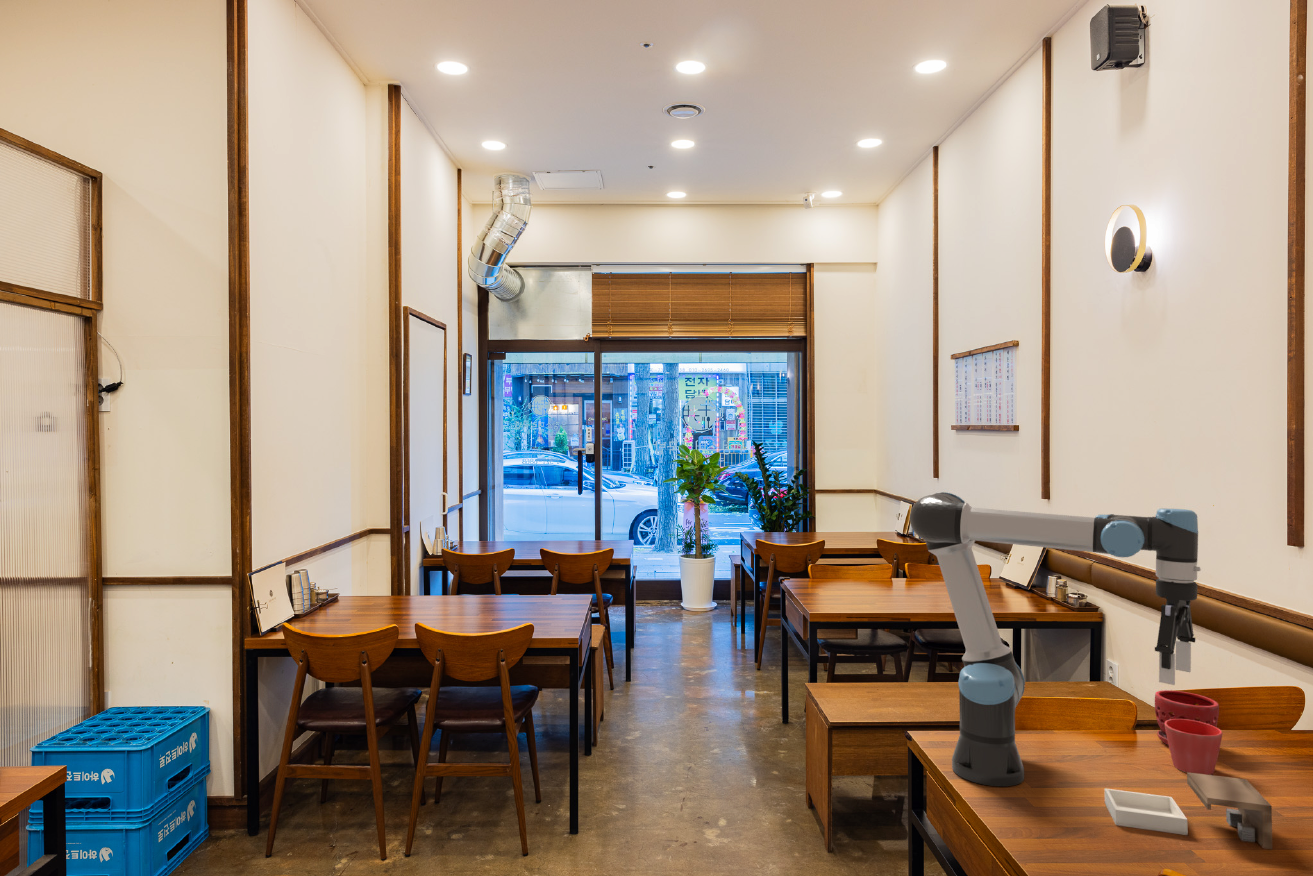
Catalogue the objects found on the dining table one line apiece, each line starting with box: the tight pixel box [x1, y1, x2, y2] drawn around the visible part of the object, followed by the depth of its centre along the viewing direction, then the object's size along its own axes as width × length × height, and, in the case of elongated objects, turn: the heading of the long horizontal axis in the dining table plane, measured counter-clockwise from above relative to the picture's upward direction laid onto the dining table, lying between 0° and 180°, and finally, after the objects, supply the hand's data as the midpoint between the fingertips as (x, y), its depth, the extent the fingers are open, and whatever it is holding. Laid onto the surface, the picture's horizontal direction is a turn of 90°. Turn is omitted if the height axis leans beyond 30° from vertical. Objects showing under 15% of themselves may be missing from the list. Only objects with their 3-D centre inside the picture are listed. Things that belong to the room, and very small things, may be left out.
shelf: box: [1186, 772, 1273, 850], centre depth 147 cm, size 10×12×8 cm
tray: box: [1104, 787, 1189, 836], centre depth 152 cm, size 12×10×3 cm
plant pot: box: [1154, 689, 1220, 746], centre depth 189 cm, size 13×13×12 cm
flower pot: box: [1165, 719, 1223, 775], centre depth 175 cm, size 11×11×10 cm
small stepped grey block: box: [1225, 808, 1256, 843], centre depth 147 cm, size 2×8×2 cm, turn 160°
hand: (1175, 677), depth 166 cm, fingers open, 13 cm apart
